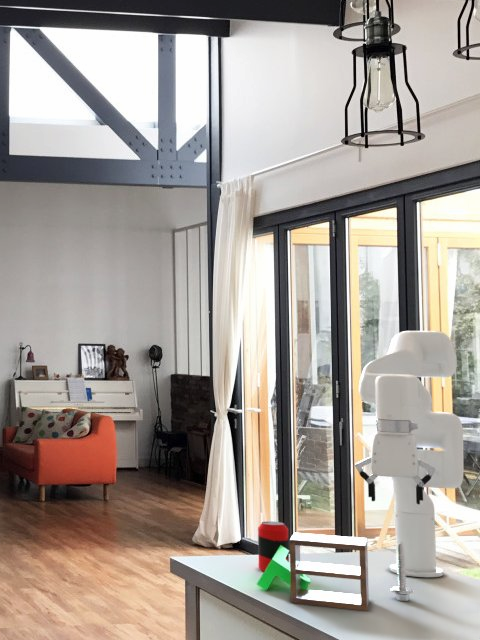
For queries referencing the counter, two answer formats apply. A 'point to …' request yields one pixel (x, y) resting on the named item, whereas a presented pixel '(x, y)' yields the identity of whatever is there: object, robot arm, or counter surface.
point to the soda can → (271, 541)
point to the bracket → (280, 570)
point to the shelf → (328, 572)
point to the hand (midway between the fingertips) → (395, 502)
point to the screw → (401, 577)
